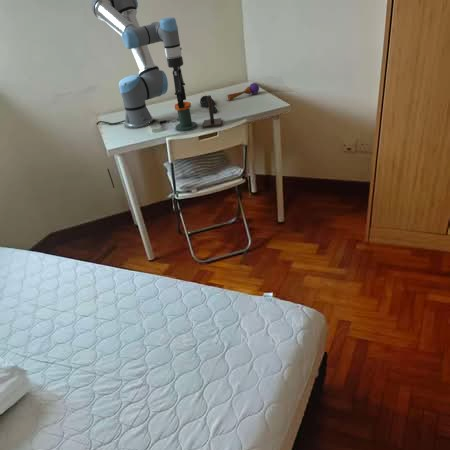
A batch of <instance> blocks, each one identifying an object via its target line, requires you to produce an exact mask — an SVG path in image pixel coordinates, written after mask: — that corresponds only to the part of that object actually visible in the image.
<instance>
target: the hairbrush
mask: <svg viewBox="0 0 450 450" xmlns="http://www.w3.org/2000/svg"><path fill="white" fill-rule="evenodd" d="M207 96H208V95H207V94H204V95H203V94H202V95H201V97H200V99H199V104H200V106H201V107H203V108H209V107H208V99H207ZM211 100H212V107H213V114H217V113H218V108H217V106H216V103H215V100H214V99H213V98H212V97H211Z"/></svg>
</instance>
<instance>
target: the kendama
mask: <svg viewBox="0 0 450 450" xmlns="http://www.w3.org/2000/svg"><path fill="white" fill-rule="evenodd" d="M259 90H260V86H259V84H258V83H256V82H252V83H251V84H249V85H248V86H247V87H246V88H245V89H244V90H243V91H238V92H233V93H229V94H227V95H226V96H227V100H228V101H229V102H230V101H231V100H234V99H236V98H238V97H240V96H241V95H243V94H245V95H246V94H247V95H257V94H258V93H259Z"/></svg>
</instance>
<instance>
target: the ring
mask: <svg viewBox="0 0 450 450" xmlns="http://www.w3.org/2000/svg"><path fill="white" fill-rule="evenodd" d="M183 102H184V108H179V106H178V102H177V103H175V104H174V110H176V111H177V110H179V111H180V110H186V109H189V108H190V109H191V107H192V104H191V102H190V101H183Z"/></svg>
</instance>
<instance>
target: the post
mask: <svg viewBox="0 0 450 450" xmlns="http://www.w3.org/2000/svg"><path fill="white" fill-rule="evenodd" d="M206 96H207V99H208V107H207V108H208V113H209V119H204V120H203V129H209V128H216V127H217V128H219V127H222V118H221V117H218V118H217V117H216V118H215V116H214V113H213V107H212V100H211V98H212V95H211V94H209V95H208V94H207V95H206Z"/></svg>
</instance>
